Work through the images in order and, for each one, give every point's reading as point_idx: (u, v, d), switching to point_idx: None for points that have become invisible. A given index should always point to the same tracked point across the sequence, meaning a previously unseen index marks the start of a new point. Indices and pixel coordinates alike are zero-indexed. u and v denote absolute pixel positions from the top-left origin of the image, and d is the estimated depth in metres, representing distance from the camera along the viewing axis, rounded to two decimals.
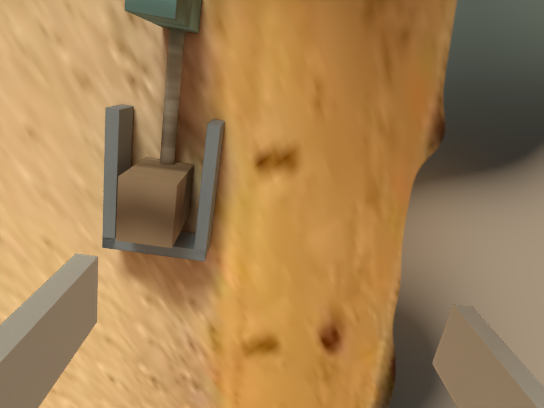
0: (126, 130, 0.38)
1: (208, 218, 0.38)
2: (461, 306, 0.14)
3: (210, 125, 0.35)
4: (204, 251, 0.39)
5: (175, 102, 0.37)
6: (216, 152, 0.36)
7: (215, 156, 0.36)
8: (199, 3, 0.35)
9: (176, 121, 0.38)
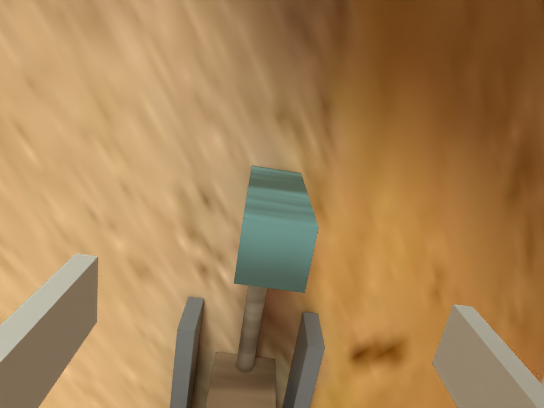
0: (197, 336, 0.29)
1: None
2: (461, 306, 0.14)
3: (311, 346, 0.27)
4: None
5: (261, 305, 0.29)
6: (316, 374, 0.28)
7: (315, 379, 0.28)
8: None
9: (260, 323, 0.30)
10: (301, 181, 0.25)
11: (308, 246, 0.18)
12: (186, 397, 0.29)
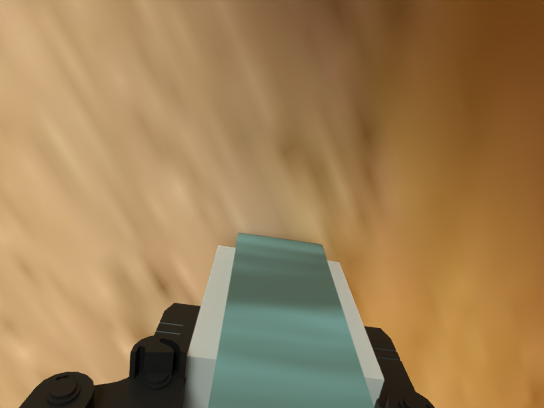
0: None
1: None
2: (328, 261, 0.16)
3: None
4: None
5: None
6: None
7: None
8: None
9: None
10: (326, 270, 0.14)
11: None
12: None
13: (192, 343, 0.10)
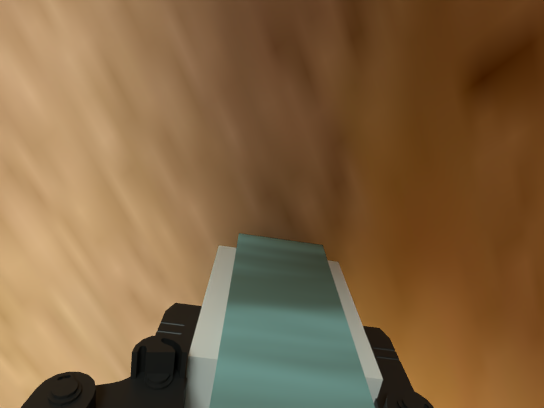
0: None
1: None
2: None
3: None
4: None
5: None
6: None
7: None
8: None
9: None
10: (327, 270, 0.14)
11: None
12: None
13: (193, 343, 0.10)
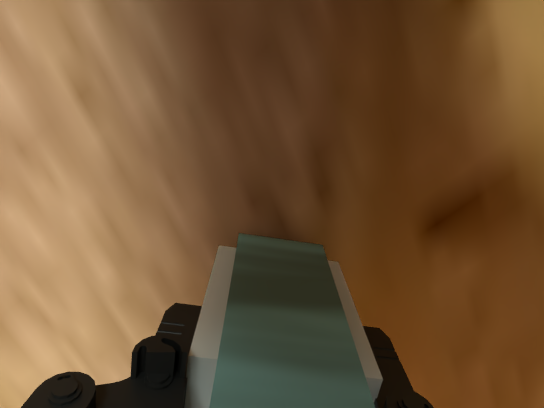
0: None
1: None
2: None
3: None
4: None
5: None
6: None
7: None
8: None
9: None
10: (327, 270, 0.14)
11: None
12: None
13: (193, 343, 0.10)
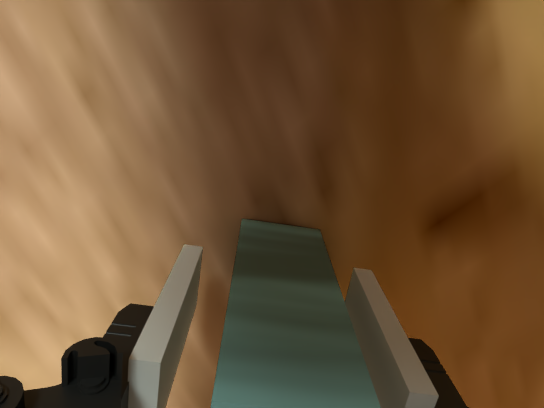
0: None
1: None
2: (360, 269, 0.16)
3: None
4: None
5: None
6: None
7: None
8: None
9: None
10: (323, 250, 0.15)
11: None
12: None
13: (137, 346, 0.10)
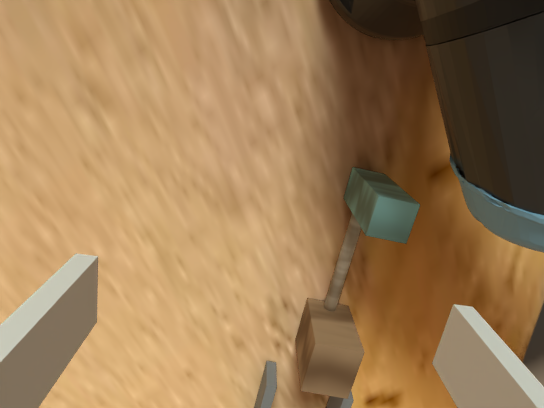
0: None
1: None
2: (461, 306, 0.14)
3: (345, 399, 0.45)
4: None
5: (349, 263, 0.42)
6: None
7: None
8: None
9: (345, 276, 0.43)
10: (389, 179, 0.38)
11: (412, 215, 0.31)
12: None
13: None
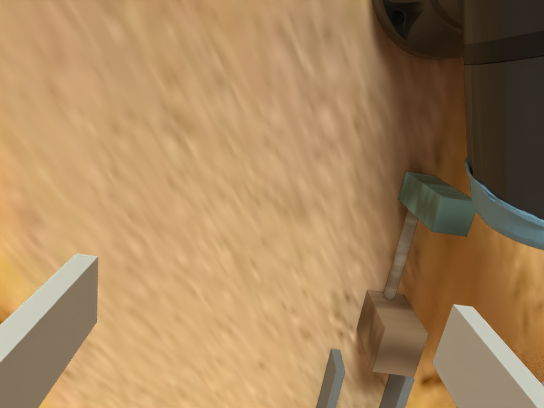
0: None
1: None
2: (461, 306, 0.14)
3: (407, 379, 0.50)
4: None
5: (406, 256, 0.47)
6: (408, 394, 0.51)
7: (407, 396, 0.51)
8: None
9: None
10: (441, 180, 0.43)
11: (472, 212, 0.36)
12: (335, 407, 0.51)
13: None
